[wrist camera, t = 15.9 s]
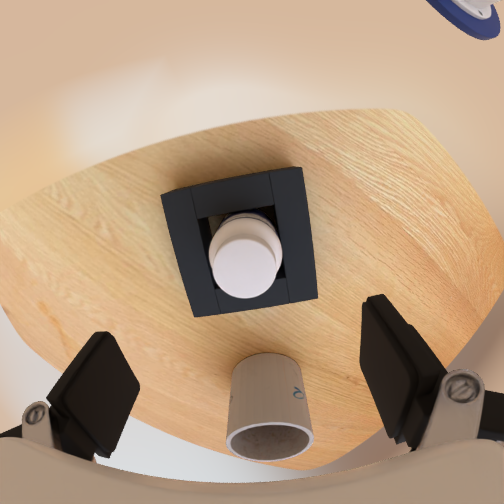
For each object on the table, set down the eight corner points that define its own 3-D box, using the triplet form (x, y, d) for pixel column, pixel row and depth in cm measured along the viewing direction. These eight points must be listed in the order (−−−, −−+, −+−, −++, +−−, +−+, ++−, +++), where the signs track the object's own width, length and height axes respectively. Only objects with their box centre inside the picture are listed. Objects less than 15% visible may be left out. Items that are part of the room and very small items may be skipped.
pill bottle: (264, 268, 26) (268, 318, 18) (211, 250, 26) (192, 293, 17) (284, 216, 24) (300, 245, 16) (229, 197, 24) (215, 216, 15)
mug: (230, 352, 29) (222, 421, 20) (305, 352, 29) (321, 419, 20) (233, 414, 33) (229, 472, 24) (294, 414, 33) (301, 471, 24)
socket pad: (294, 166, 23) (302, 167, 19) (309, 279, 26) (318, 298, 23) (174, 189, 24) (160, 194, 20) (201, 296, 27) (194, 317, 23)
